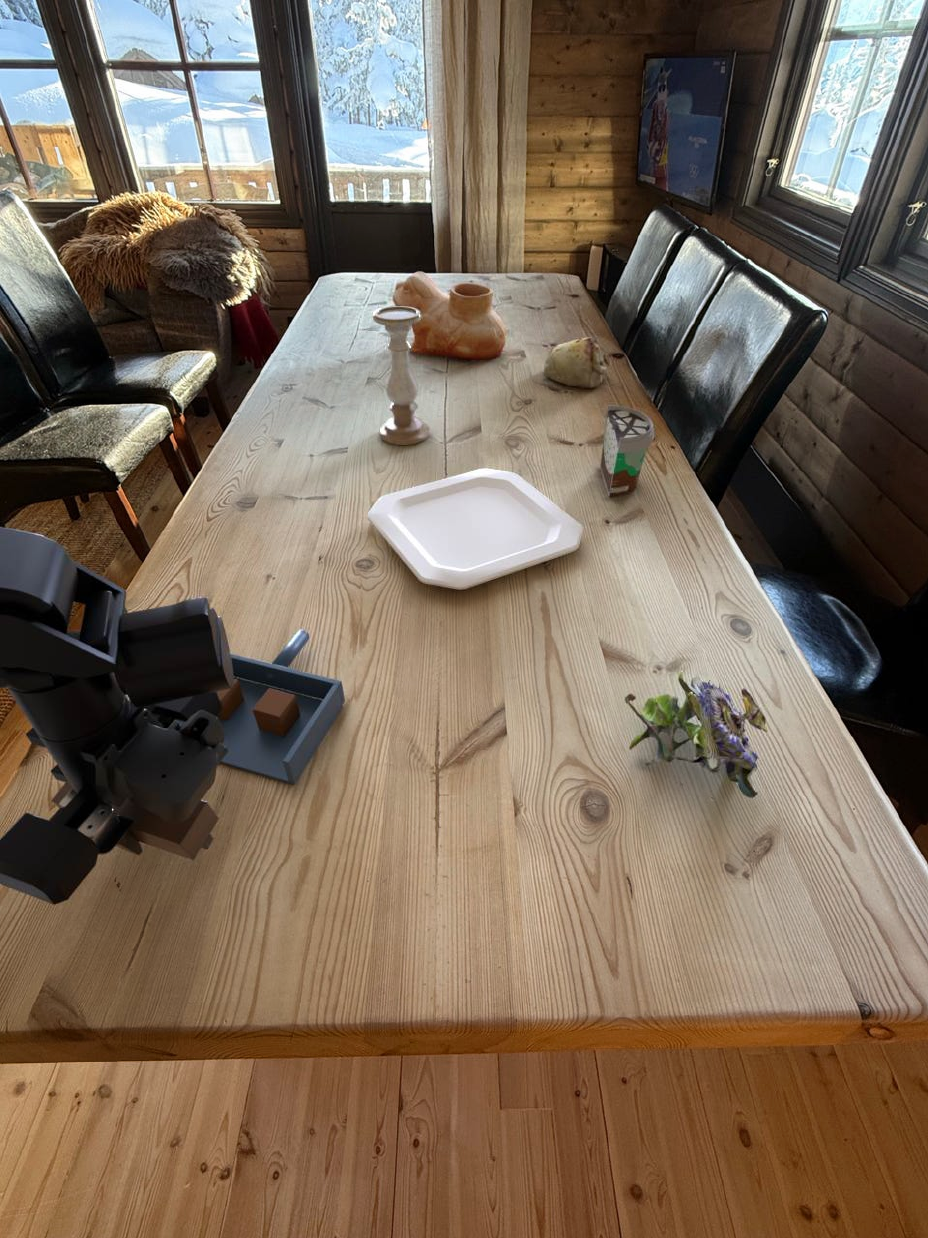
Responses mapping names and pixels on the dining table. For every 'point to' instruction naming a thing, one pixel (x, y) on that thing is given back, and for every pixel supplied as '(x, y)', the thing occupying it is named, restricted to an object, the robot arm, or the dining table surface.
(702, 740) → the passion flower
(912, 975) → the dining table surface
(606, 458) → the food container
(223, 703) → the crumb
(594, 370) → the pastry
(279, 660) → the dustpan
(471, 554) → the plate
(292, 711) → the crumb
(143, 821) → the brown long block
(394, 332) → the candle holder
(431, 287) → the ceramic vessel
